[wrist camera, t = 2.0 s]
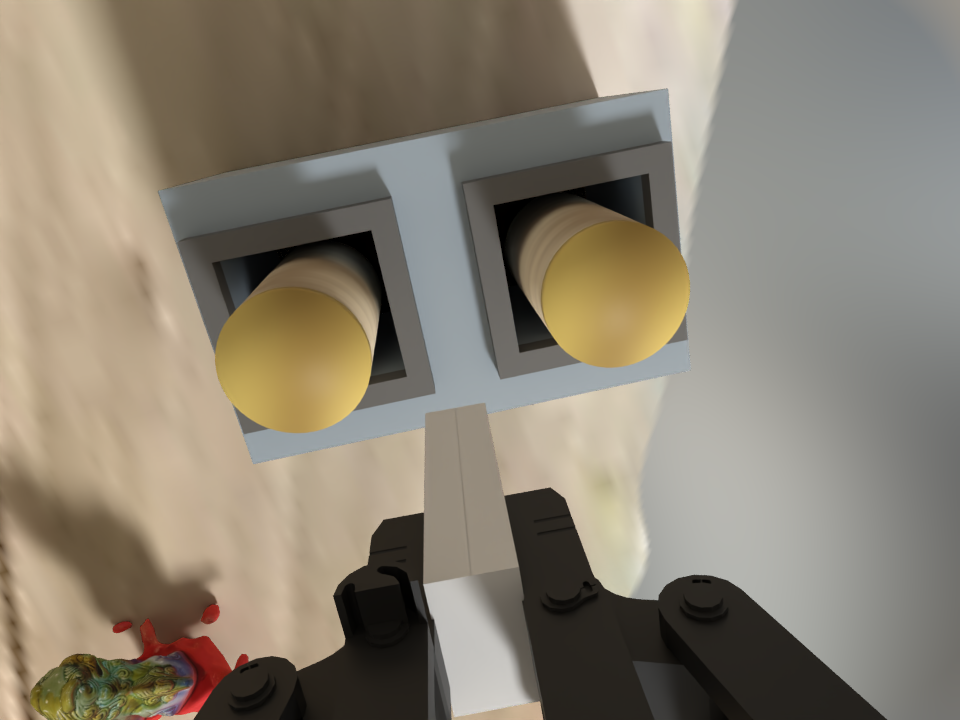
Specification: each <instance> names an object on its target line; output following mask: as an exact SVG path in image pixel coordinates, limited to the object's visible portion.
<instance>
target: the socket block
mask: <svg viewBox="0 0 960 720" xmlns="http://www.w3.org/2000/svg"><path fill="white" fill-rule="evenodd" d="M579 187H584V188H585V196H586V199H587V200H589V201H591V202H594V203H596V204H598V205H600V206H603V207H605V208H607V209H610V210H612V211H614V212H617V213H619V214H621V215H623V216H626V217H628V218H630V219H633V220H635V221H637V222H639V223H642V224H644V225H646V226H649V227H651V228H653V229H655V230H657V231H659V232H660V233H662V234H663V235H665V236H666V237H667V238H668V239H669V240H671V241H672V243H673V244H674V245H675V246H676V247H677V249H678V250H679V252H680V253H681V243H680V231H679V219H678V206H677V194H676V182H675V169H674V157H673V144H672V132H671V120H670V107H669V95H668V89H660V90H652V91H645V92H637V93H629V94H622V95H614V96H606V97H599V98H594V99H589V100H584V101H579V102H574V103H569V104H564V105H559V106H554V107H549V108H544V109H539V110H534V111H529V112H524V113H519V114H514V115H509V116H504V117H499V118H494V119H489V120H484V121H479V122H474V123H469V124H464V125H459V126H454V127H449V128H444V129H439V130H434V131H430V132H425V133H420V134H415V135H410V136H405V137H400V138H395V139H390V140H385V141H380V142H375V143H370V144H365V145H360V146H355V147H350V148H345V149H340V150H335V151H330V152H325V153H320V154H315V155H310V156H305V157H300V158H295V159H290V160H285V161H280V162H275V163H270V164H265V165H260V166H255V167H250V168H245V169H240V170H235V171H230V172H225V173H222V174H218V175H214V176H211V177H207V178H204V179H200V180H196V181H193V182H189V183H185V184H182V185H178V186H174V187H171V188H167V189H163V190H160V191H158V193H159V196H160V199H161V202H162V204H163V207H164V210H165V213H166V216H167V219H168V222H169V224H170V227H171V230H172V233H173V236H174V239H175V242H176V244H177V247H178V250H179V253H180V256H181V259H182V262H183V264H184V267H185V270H186V273H187V276H188V279H189V282H190V284H191V287H192V290H193V293H194V296H195V299H196V302H197V304H198V307H199V310H200V313H201V316H202V319H203V322H204V325H205V327H206V330H207V333H208V336H209V339H210V342H211V345H212V347H213V350H214V353H215V351H216V345H217V341H218V337H219V334H220V332H221V330H222V328H223V326H224V324H225V323H226V321H227V320H228V318H229V317H230V316H231V315H232V314H233V313H234V312H235V311H236V309H237V308H238V307H239V306H240V305H241V304H242V303H243V302H244V301H245V300H246V299H247V298H248V296H249V295H250V294H251V293H252V292H253V291H254V290H255V289H256V288H257V287H258V286H259V285H260V283H261V282H262V281H263V280H264V279H265V278H266V277H267V276H268V275H269V274H270V273H271V271H272V270H273V269H274V268H275V267H276V266H277V265H278V264H279V263H280V259H279V255H278V252H277V249H282V248H286V247H291V246H296V245H301V244H306V243H311V242H316V241H321V240H325V239H330V238H335V237H340V236H345V235H350V234H355V233H360V232H365V231H369V230H371V231H372V235H373V239H374V243H375V247H376V251H377V255H378V259H379V264H380V268H381V272H382V276H383V280H384V284H385V288H386V292H387V296H388V300H389V305H390V309H391V312H386V313H381V314H380V316H379V322H378V329H377V335H376V342H375V348H374V355H373V361H372V368H371V375H370V379H369V384H368V387H367V389H366V392H365V394H364V396H363V398H362V399H361V401H360V402H359V404H358V405H357V406H356V408H355V409H354V410H353V411H352V412H351V413H350V414H349V415H348V416H346V417H345V418H344V419H342V420H341V421H339V422H338V423H336V424H334V425H332V426H330V427H327V428H325V429H322V430H318V431H315V432H308V433H286V432H281V431H276V430H273V429H269V428H266V427H264V426H262V425H260V424H258V423H256V422H254V421H252V420H251V419H249V418H248V417H246V416H245V415H244V414H243V413H241V412H240V411H239V410H238V409H237V408H236V407H235V406H234V405H233V404H232V405H233V407H234V410H235V413H236V416H237V419H238V422H239V425H240V427H241V430H242V433H243V436H244V439H245V442H246V445H247V447H248V450H249V453H250V456H251V459H252V462H253V464H256V463H261V462H266V461H270V460H275V459H280V458H284V457H289V456H294V455H298V454H303V453H308V452H312V451H317V450H322V449H326V448H331V447H336V446H340V445H345V444H350V443H354V442H359V441H364V440H368V439H373V438H378V437H382V436H387V435H392V434H396V433H401V432H406V431H410V430H415V429H420V428H424V427H425V413H430V412H435V411H441V410H446V409H452V408H457V407H463V406H468V405H474V404H479V403H485V405H486V410H487V414H489V413H494V412H499V411H503V410H508V409H513V408H517V407H522V406H527V405H531V404H536V403H541V402H545V401H550V400H555V399H559V398H564V397H569V396H573V395H578V394H583V393H587V392H592V391H597V390H601V389H606V388H611V387H615V386H620V385H625V384H629V383H634V382H639V381H643V380H648V379H653V378H657V377H662V376H667V375H671V374H676V373H680V372H685V371H690V370H691V367H690V355H689V343H688V331H687V319H686V313H685V316H684V318H683V320H682V322H681V324H680V326H679V328H678V330H677V331H676V332H675V334H674V335H673V337H672V338H671V339H670V340H669V341H668V342H667V343H666V344H665V345H664V346H663V347H662V348H661V349H660V350H658V351H657V352H656V353H654V354H653V355H651V356H650V357H648V358H646V359H644V360H642V361H640V362H637V363H635V364H631V365H628V366H623V367H616V368H604V367H596V366H592V365H588V364H586V363H583V362H581V361H579V360H577V359H575V358H573V357H572V356H571V355H569V354H568V353H567V352H565V351H564V350H563V349H562V348H561V347H560V346H559V344H558V343H557V342H556V340H555V339H554V338H553V336H552V335H551V333H550V332H549V330H548V329H547V327H546V326H545V324H544V323H543V321H542V320H541V318H540V317H539V315H538V314H537V312H536V311H535V309H534V308H533V306H532V305H531V303H530V302H529V300H528V299H527V297H526V296H525V294H524V293H523V291H522V290H521V288H520V287H519V285H515V286H510V287H508V285H507V280H506V274H505V268H504V263H503V257H502V251H501V246H500V240H499V234H498V229H497V223H496V217H495V212H494V206H493V205H496V204H501V203H506V202H511V201H516V200H521V199H526V198H531V197H535V196H540V195H545V194H550V193H555V192H560V191H565V190H570V189H574V188H579Z"/></svg>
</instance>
